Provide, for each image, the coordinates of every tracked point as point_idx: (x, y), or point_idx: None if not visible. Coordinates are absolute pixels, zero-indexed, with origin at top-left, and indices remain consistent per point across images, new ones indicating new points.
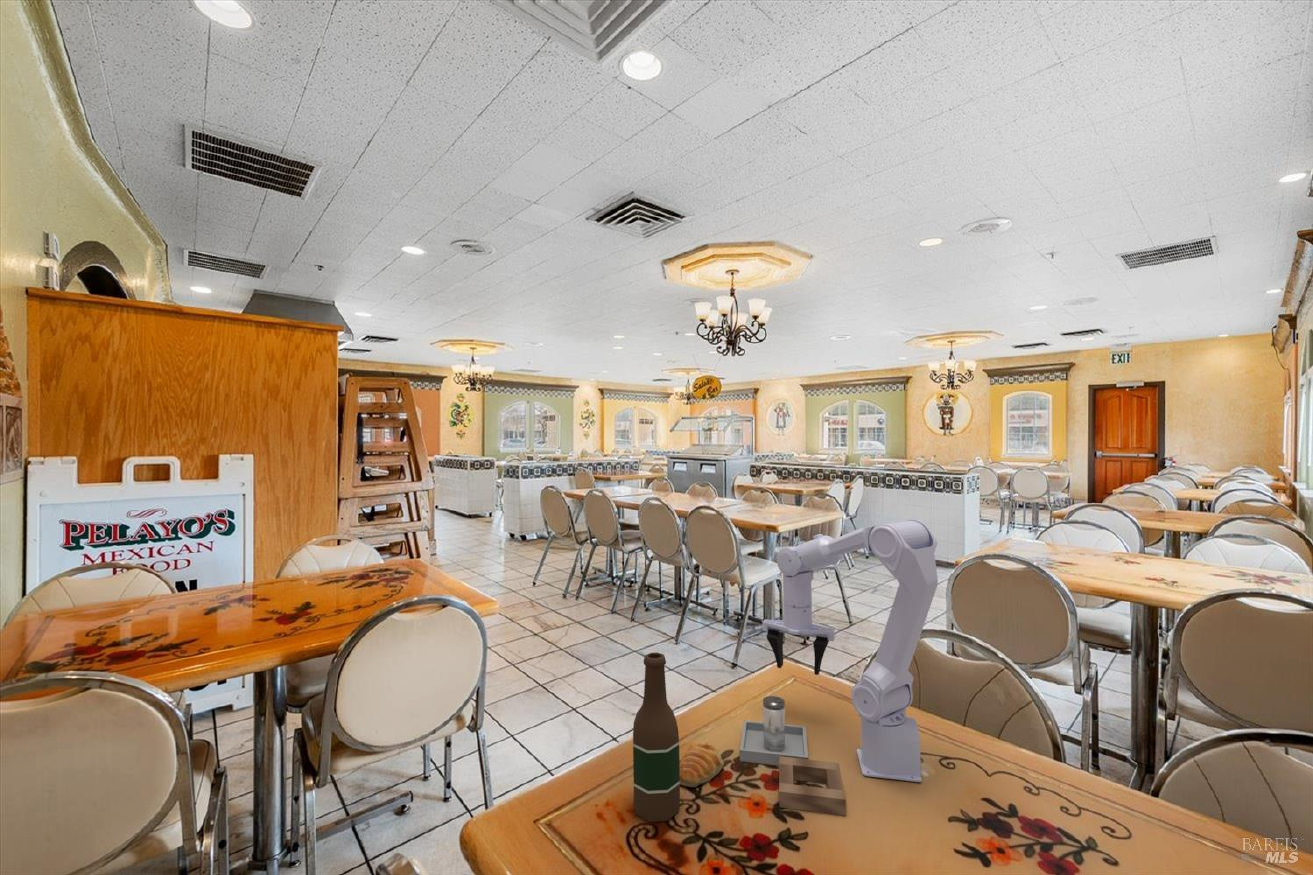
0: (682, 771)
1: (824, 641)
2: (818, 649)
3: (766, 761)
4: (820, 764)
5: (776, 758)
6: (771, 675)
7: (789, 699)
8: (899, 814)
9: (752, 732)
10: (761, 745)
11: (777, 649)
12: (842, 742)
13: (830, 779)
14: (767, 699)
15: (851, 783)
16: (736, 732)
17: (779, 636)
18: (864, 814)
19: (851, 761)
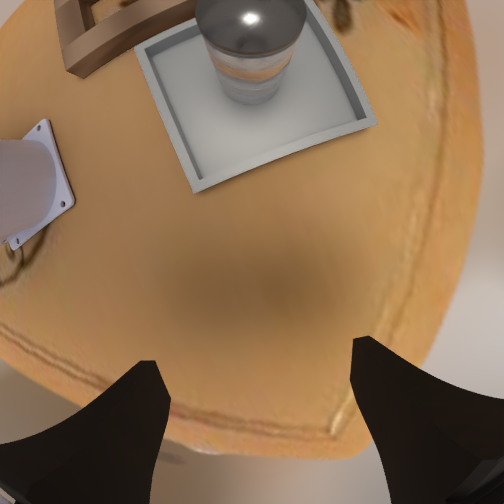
0: None
1: (18, 500)
2: (36, 451)
3: None
4: (98, 35)
5: None
6: None
7: (315, 359)
8: (9, 73)
9: (337, 114)
10: None
11: (421, 401)
12: (113, 223)
13: (75, 14)
14: (285, 7)
15: (63, 81)
16: (375, 109)
17: (439, 501)
18: (44, 32)
19: (75, 154)
